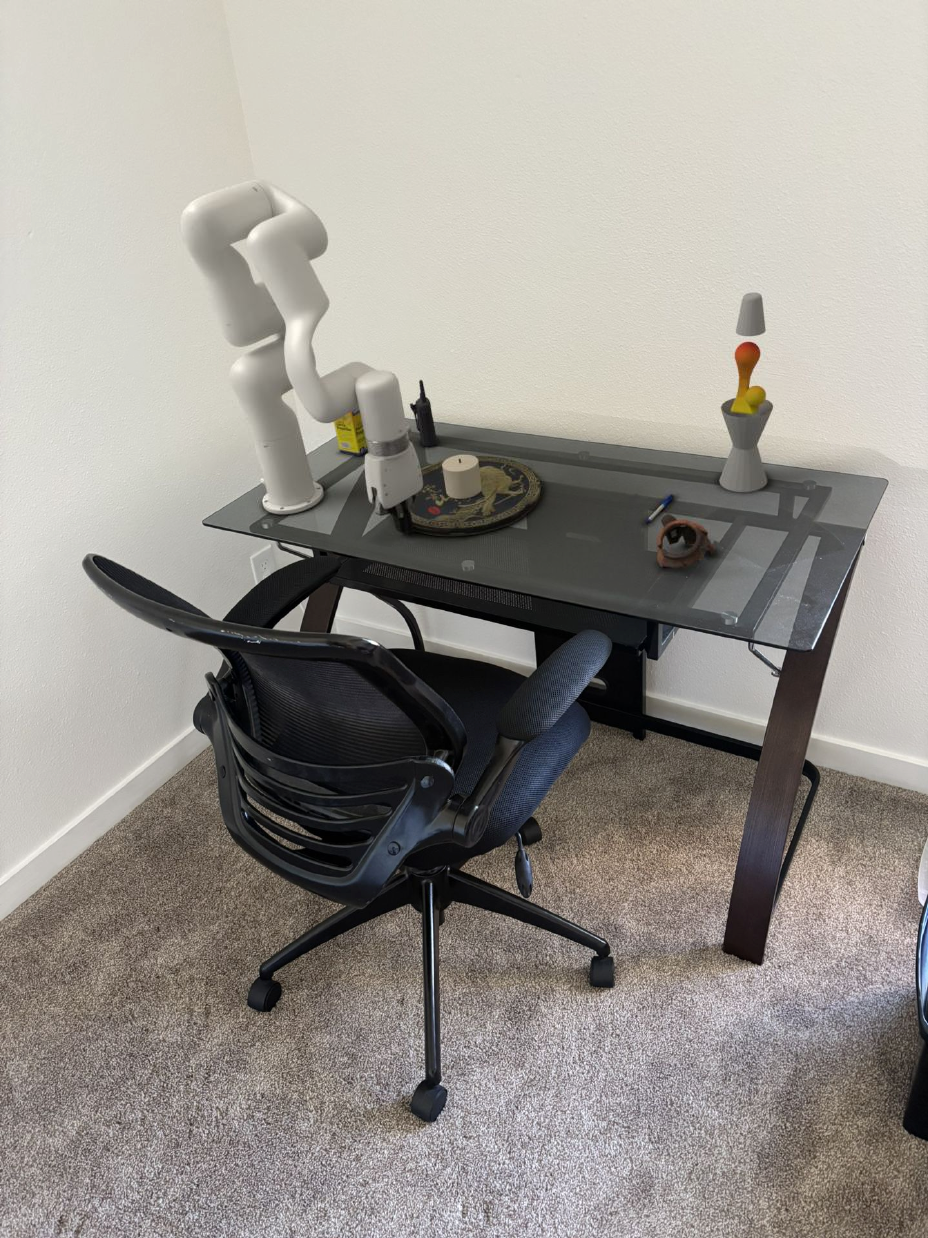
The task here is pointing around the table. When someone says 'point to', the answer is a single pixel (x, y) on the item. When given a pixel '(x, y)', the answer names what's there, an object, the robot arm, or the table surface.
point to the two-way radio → (424, 418)
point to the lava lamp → (746, 406)
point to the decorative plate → (476, 499)
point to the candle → (462, 476)
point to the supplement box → (351, 434)
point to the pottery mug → (690, 535)
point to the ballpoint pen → (660, 508)
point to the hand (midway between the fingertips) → (405, 531)
